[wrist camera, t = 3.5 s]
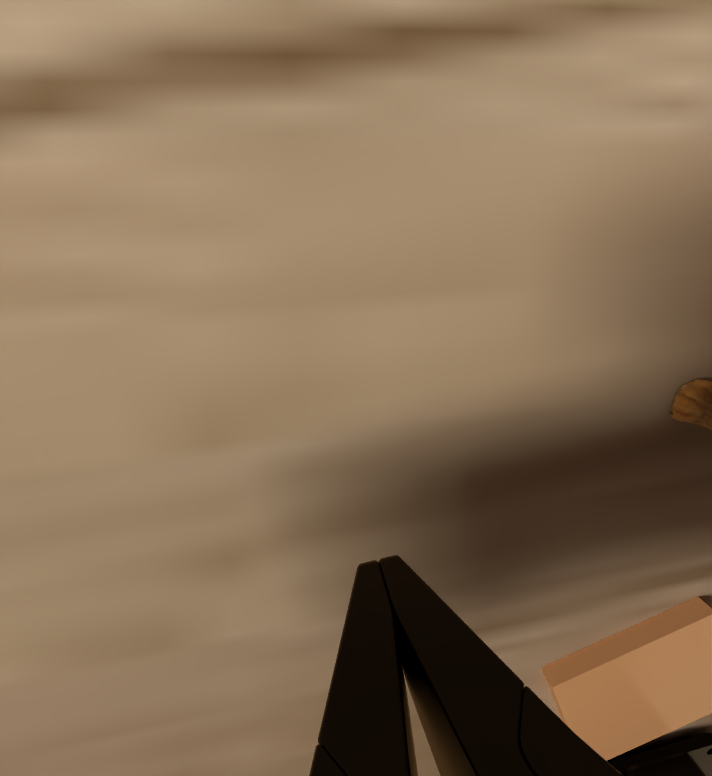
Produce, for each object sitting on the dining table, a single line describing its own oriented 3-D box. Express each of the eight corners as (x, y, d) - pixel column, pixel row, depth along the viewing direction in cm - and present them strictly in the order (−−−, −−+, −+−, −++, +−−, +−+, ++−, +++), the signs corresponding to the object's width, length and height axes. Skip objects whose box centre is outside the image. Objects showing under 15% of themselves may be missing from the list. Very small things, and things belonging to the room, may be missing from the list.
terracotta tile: (697, 676, 18) (724, 707, 17) (566, 736, 18) (584, 770, 17) (684, 584, 15) (716, 612, 14) (533, 653, 15) (552, 687, 14)
